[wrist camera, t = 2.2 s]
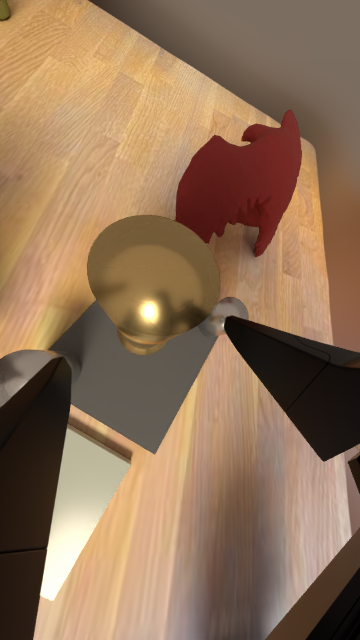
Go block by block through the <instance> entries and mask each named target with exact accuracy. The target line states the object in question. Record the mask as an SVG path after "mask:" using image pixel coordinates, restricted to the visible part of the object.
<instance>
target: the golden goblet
mask: <svg viewBox="0 0 360 640" xmlns="http://www.w3.org/2000/svg"><path fill="white" fill-rule="evenodd" d="M87 275H88V280H89V284H90V287H91V290H92V293H93V294H94V296H95V298H96V300H97V302H98V303H99V304H100V306H101V307H102V308H103V310H104V311H105V312H106V314H107V315H108V316H109V318H110V319H111V320H112V322H113V323H114V324H115V326H116V327H117V334H118V338H119V340H120V342H121V344H122V345H123V346H124V348H125V349H127V350H128V351H130V352H131V353H134V354H137V355H149V354H153V353H155V352H157V351H159V350H160V349H161V348H162V347H163V346H164V345H165V344H166V342H167V341H168V340H170V339H172V338H174V337H176V336H178V335H181V334H183V333H185V332H187V331H189V330H191V329H193V328H195V327H196V326H198V325H199V324H200V323H202V322H203V321H204V320H205V319H206V318H207V317H208V316H209V315H210V313H211V312H212V310H213V309H214V307H215V305H216V302H217V299H218V296H219V291H220V274H219V270H218V266H217V263H216V260H215V258H214V256H213V254H212V252H211V251H210V249H209V248H208V246H207V245H206V244H205V242H204V241H203V240H202V239H201V238H200V237H199V236H198V235H197V234H195V233H194V232H193V231H192V230H190V229H189V228H187V227H186V226H184V225H182V224H180V223H178V222H176V221H174V220H171V219H168V218H165V217H160V216H154V215H137V216H131V217H127V218H124V219H121V220H118V221H117V222H115V223H113V224H111V225H110V226H108V227H107V228H106V229H104V230H103V231H102V232H101V233H100V234H99V236H98V237H97V238H96V240H95V241H94V243H93V245H92V247H91V249H90V253H89V256H88V262H87Z"/></svg>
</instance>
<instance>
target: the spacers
mask: <svg viewBox="0 0 360 640" xmlns="http://www.w3.org/2000/svg"><path fill="white" fill-rule="evenodd" d="M231 315H233V316H236V317H239V318H243V319H246V320H248V311H247V308H246V306H245V305H244V304H243V303H242V302H241V301H240V300H239V299H237V298H234V297H227V298H224V299H223V300H221V301H220V302H218V303H216V305H215V307H214V309H213V310H212V312H211V313H210V315H209V316H208V317H207V318H206V319H205V320H204V321H203V322H202V323H200V324H199V325H198V327H199V329H200V331H201V332H202V333H203V334H204V335H206V336H208V337H215V336H220V335H224V334H226V332H225V330H224V323H225V318H226V317H227V316H231ZM61 356H62V357H64V358H65V359H66V361H67V362H68V364H69V365H70V367H71V369H72V385H73V384H74V383H75V382H76V381H77V379H78V378H79V376H80V374H81V369H82V366H81V362H80V360H79V358H78V357H77V356H76V355H75V354H73V353H71V352H67V351H47V350H20V351H16V352H13V353H10V354H8V355H6V356H4V357H3V358H1V359H0V407H2V406H3V405H4V404H5V403H6V402H7V401H8V400H9V399H10V398H11V397H12V396H13V395H14V394H15V393H16V392H17V391H18V390H19V389H20V388H21V387H23V386H24V385H25V384H26V383H27V382H28V381H29V380H30V379H31V378H32V377H33V376H34V375H35V374H36V373H37V372H38V371H39V370H40V369H41V368H43V367H44V366H45V365H46V364H47V363H48V362H49V361H50V360H51V359H53V358H57V357H61Z"/></svg>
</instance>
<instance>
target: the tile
mask: <svg viewBox="0 0 360 640" xmlns="http://www.w3.org/2000/svg"><path fill="white" fill-rule="evenodd" d="M130 466H131V460H129V459H127V458H126V457H124V456H122V455H121V454H119V453H117V452H115V451H114V450H112V449H110V448H109V447H107V446H105V445H104V444H102V443H100V442H98V441H97V440H95V439H93V438H92V437H90V436H88V435H86V434H85V433H83V432H81V431H80V430H78V429H76V428H74V427H73V426H71V425H69V424H68V425H67V431H66V437H65V443H64V449H63V456H62V462H61V468H60V474H59V481H58V487H57V493H56V499H55V505H54V512H53V518H52V524H51V530H50V536H49V543H48V547H47V548H46V549H48V550H47V556H46V562H45V569H44V575H43V581H42V587H41V594H40V596H42V597H44V598H47V599H49V600H51V601H53V600H54V598H55V596H56V595H57V593H58V591H59V589H60V588H61V586H62V584H63V582H64V581H65V579H66V577H67V575H68V574H69V572H70V570H71V568H72V567H73V565H74V563H75V561H76V560H77V558H78V556H79V554H80V553H81V551H82V549H83V547H84V546H85V544H86V542H87V541H88V539H89V537H90V535H91V534H92V532H93V530H94V528H95V527H96V525H97V523H98V521H99V520H100V518H101V516H102V514H103V513H104V511H105V509H106V507H107V506H108V504H109V502H110V500H111V499H112V497H113V495H114V494H115V492H116V490H117V488H118V487H119V485H120V483H121V481H122V480H123V478H124V476H125V474H126V473H127V471H128V469H129V467H130Z"/></svg>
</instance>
